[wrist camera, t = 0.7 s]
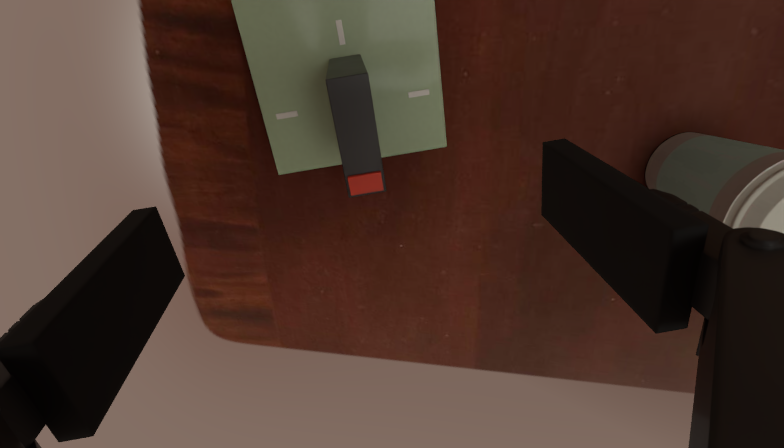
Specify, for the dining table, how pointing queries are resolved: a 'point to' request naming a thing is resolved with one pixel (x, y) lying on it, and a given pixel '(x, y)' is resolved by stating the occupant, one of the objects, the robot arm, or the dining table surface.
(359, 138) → the dark charcoal cuboid
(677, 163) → the coffee cup
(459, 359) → the dining table surface
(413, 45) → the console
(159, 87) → the dining table surface
